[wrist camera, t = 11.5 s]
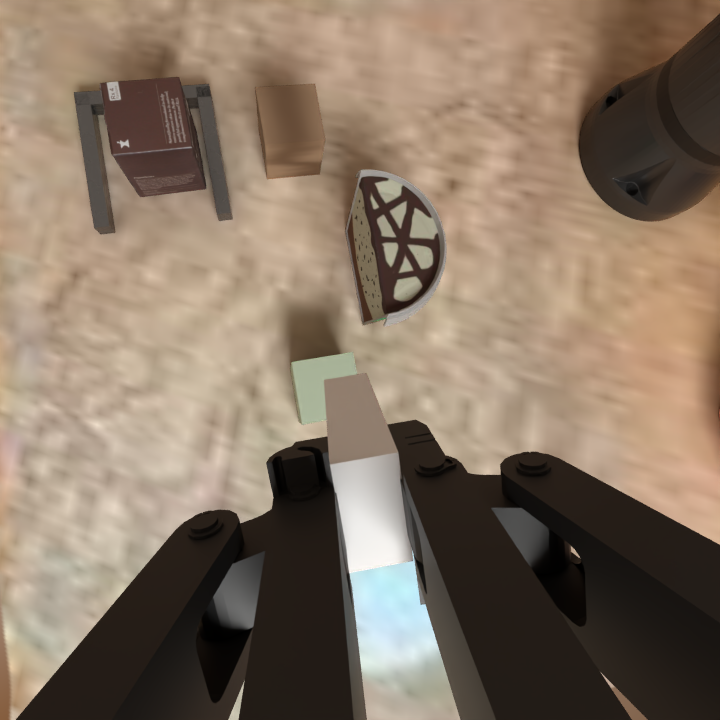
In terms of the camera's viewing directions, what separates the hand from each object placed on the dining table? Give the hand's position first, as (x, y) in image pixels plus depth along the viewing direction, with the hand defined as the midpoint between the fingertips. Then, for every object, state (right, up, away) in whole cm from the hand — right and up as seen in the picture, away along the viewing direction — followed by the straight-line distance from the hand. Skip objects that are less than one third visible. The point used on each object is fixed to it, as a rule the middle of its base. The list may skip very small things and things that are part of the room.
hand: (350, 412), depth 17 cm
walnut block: (-6, +22, +29) cm, 37 cm away
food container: (+3, +10, +29) cm, 31 cm away
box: (-17, +20, +27) cm, 38 cm away
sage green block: (-3, -1, +27) cm, 27 cm away
